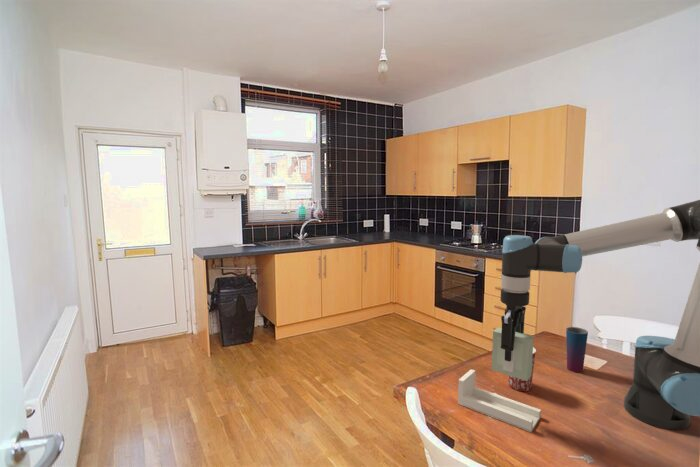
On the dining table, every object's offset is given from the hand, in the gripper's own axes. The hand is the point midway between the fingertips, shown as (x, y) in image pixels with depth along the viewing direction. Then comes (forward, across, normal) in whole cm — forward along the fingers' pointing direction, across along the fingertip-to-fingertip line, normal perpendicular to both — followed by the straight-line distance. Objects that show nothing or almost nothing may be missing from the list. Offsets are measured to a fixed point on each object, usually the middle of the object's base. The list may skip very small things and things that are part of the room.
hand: (511, 367), depth 110 cm
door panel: (+2, 0, 0) cm, 2 cm away
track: (+15, 0, -3) cm, 15 cm away
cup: (+15, -44, +8) cm, 47 cm away
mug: (+15, -20, -5) cm, 26 cm away
